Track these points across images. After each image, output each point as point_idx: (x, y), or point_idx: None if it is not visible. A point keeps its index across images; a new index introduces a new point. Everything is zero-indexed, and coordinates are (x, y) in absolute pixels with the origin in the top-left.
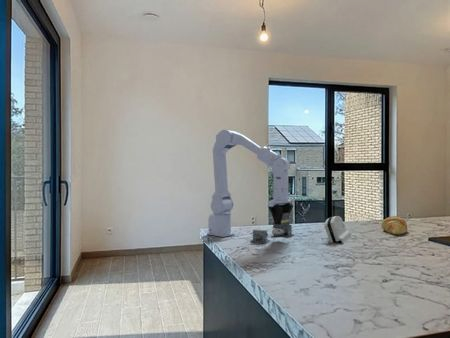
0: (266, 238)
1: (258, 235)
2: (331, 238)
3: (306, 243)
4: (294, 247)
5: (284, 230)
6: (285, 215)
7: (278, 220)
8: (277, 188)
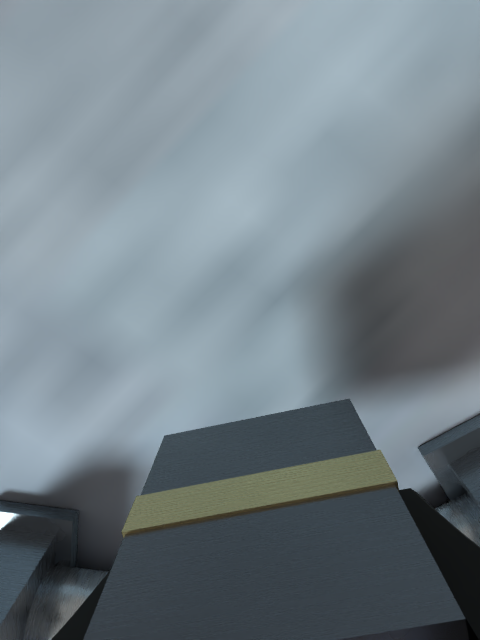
0: (471, 469)
1: None
2: None
3: (149, 123)
4: (426, 47)
5: (57, 599)
6: (289, 584)
7: (458, 542)
8: None
